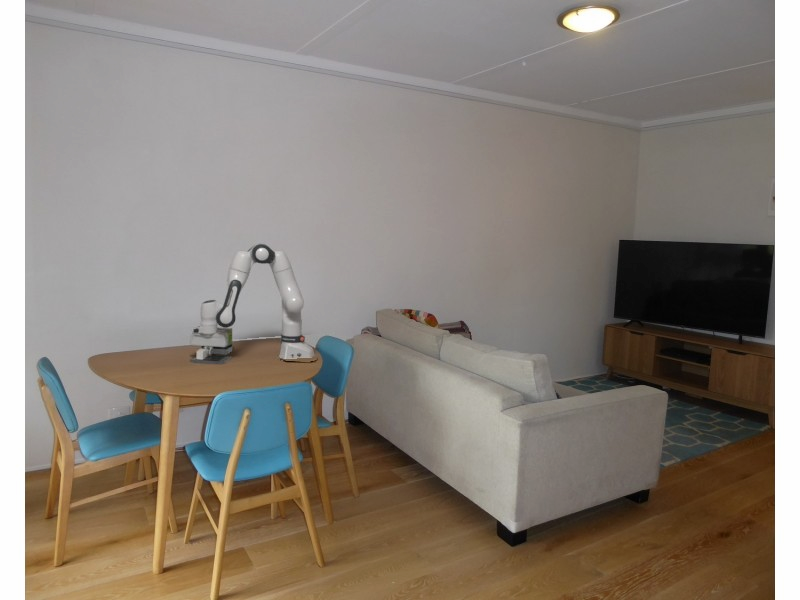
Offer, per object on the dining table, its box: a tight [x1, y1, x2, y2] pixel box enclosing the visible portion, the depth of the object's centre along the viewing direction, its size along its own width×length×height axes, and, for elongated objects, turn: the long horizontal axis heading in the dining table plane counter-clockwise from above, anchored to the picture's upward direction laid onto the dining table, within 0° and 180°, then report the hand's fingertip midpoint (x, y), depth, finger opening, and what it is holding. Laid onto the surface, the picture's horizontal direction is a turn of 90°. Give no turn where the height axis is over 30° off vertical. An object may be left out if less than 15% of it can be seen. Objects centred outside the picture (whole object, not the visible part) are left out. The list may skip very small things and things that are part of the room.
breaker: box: [196, 349, 205, 360], centre depth 302 cm, size 4×3×4 cm
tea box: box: [200, 326, 233, 356], centre depth 325 cm, size 15×10×15 cm
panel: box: [189, 354, 232, 365], centre depth 307 cm, size 18×14×2 cm
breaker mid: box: [198, 347, 208, 358], centre depth 306 cm, size 4×3×4 cm
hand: (208, 353), depth 306 cm, fingers closed
